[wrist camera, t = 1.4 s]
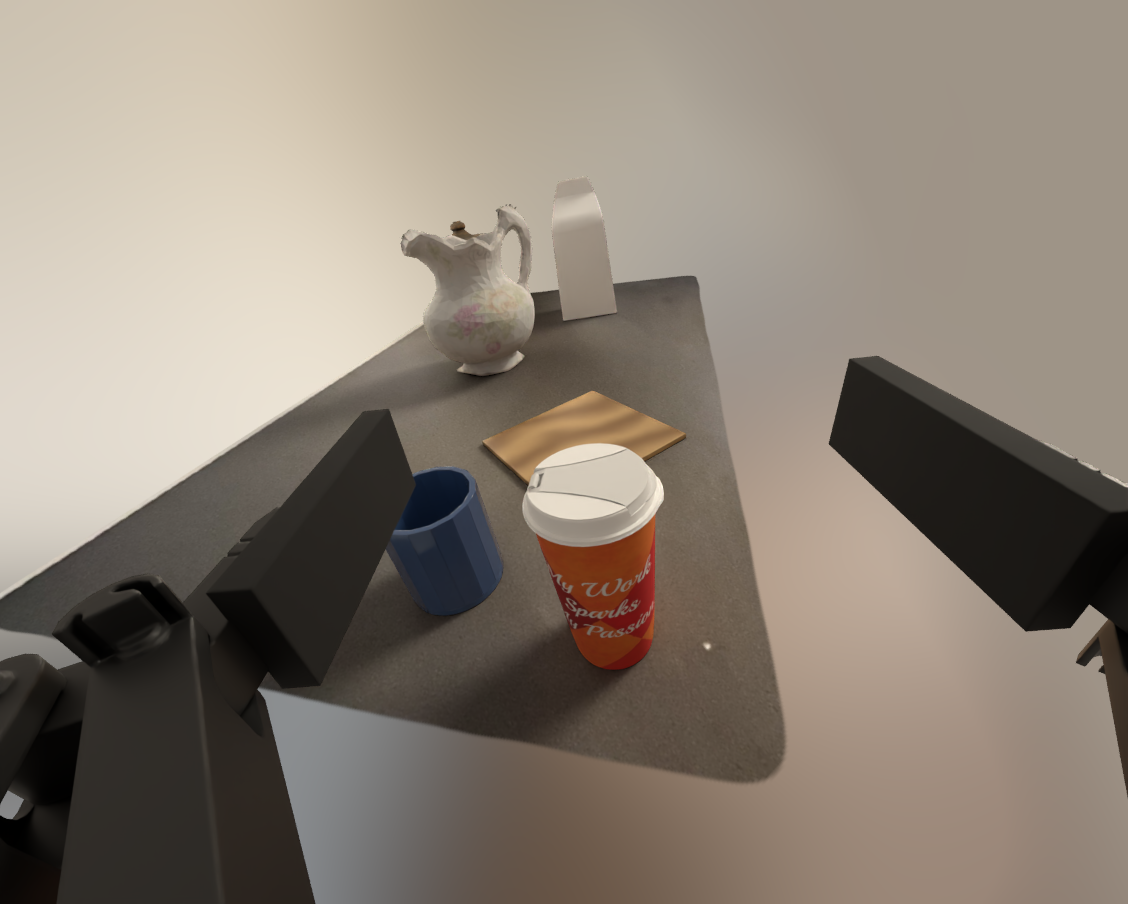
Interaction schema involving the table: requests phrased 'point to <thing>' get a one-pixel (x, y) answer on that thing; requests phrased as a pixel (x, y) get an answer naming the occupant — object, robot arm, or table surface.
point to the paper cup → (599, 546)
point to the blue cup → (446, 543)
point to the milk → (581, 251)
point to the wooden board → (580, 433)
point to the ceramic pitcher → (477, 296)
